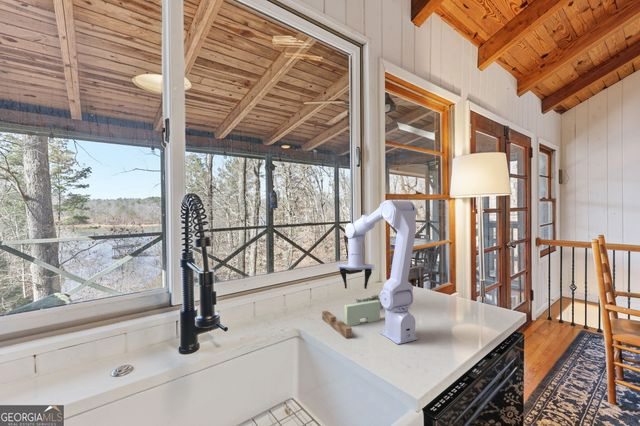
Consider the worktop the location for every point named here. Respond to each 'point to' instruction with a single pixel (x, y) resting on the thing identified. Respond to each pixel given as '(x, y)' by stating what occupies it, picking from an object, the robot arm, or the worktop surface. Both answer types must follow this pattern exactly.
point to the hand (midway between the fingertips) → (355, 288)
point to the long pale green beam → (361, 312)
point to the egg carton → (370, 300)
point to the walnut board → (337, 324)
